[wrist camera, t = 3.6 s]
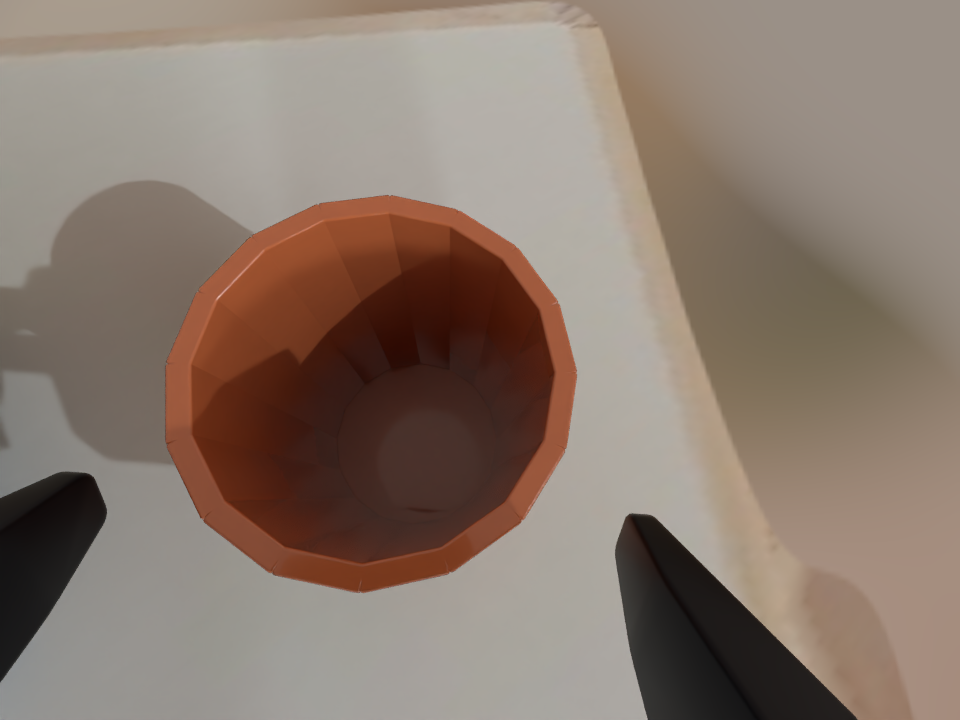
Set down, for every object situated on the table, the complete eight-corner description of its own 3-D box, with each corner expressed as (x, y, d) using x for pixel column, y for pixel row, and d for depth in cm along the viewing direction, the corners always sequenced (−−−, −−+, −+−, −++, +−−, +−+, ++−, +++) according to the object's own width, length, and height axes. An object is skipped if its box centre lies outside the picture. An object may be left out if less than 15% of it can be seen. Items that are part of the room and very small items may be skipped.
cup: (535, 420, 18) (642, 324, 8) (438, 570, 16) (420, 692, 6) (401, 329, 19) (345, 137, 9) (294, 464, 17) (68, 418, 7)
